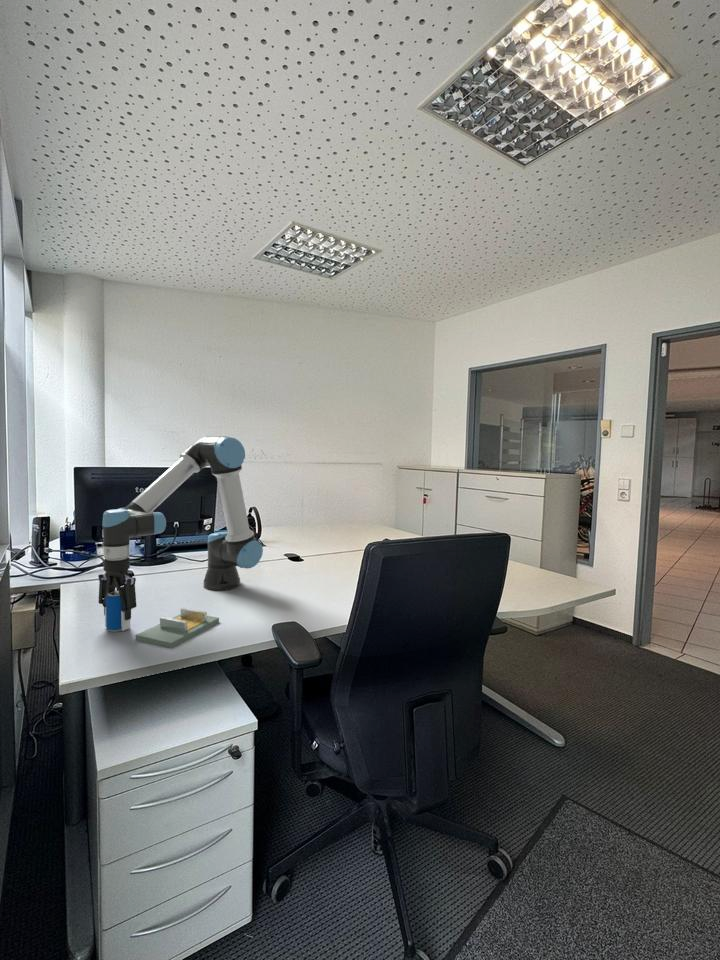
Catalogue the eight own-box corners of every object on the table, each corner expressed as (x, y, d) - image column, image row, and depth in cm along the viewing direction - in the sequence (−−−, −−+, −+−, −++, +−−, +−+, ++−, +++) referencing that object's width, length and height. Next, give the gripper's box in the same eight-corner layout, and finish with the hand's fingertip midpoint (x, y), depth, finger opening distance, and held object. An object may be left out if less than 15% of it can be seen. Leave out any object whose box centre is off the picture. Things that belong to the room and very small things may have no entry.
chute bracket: (159, 626, 147) (159, 617, 147) (183, 616, 157) (183, 607, 157) (184, 632, 144) (184, 622, 144) (206, 620, 154) (206, 612, 153)
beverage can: (111, 624, 152) (111, 589, 151) (132, 624, 152) (131, 589, 152) (102, 632, 145) (102, 595, 145) (123, 632, 146) (123, 595, 145)
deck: (135, 639, 141) (135, 635, 141) (186, 615, 161) (186, 611, 161) (171, 647, 136) (171, 643, 136) (218, 622, 157) (218, 617, 156)
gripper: (84, 556, 147) (85, 626, 149) (129, 563, 140) (130, 636, 142) (104, 552, 154) (105, 618, 156) (149, 558, 147) (149, 628, 149)
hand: (117, 627), depth 149 cm, fingers closed on beverage can, 6 cm apart
